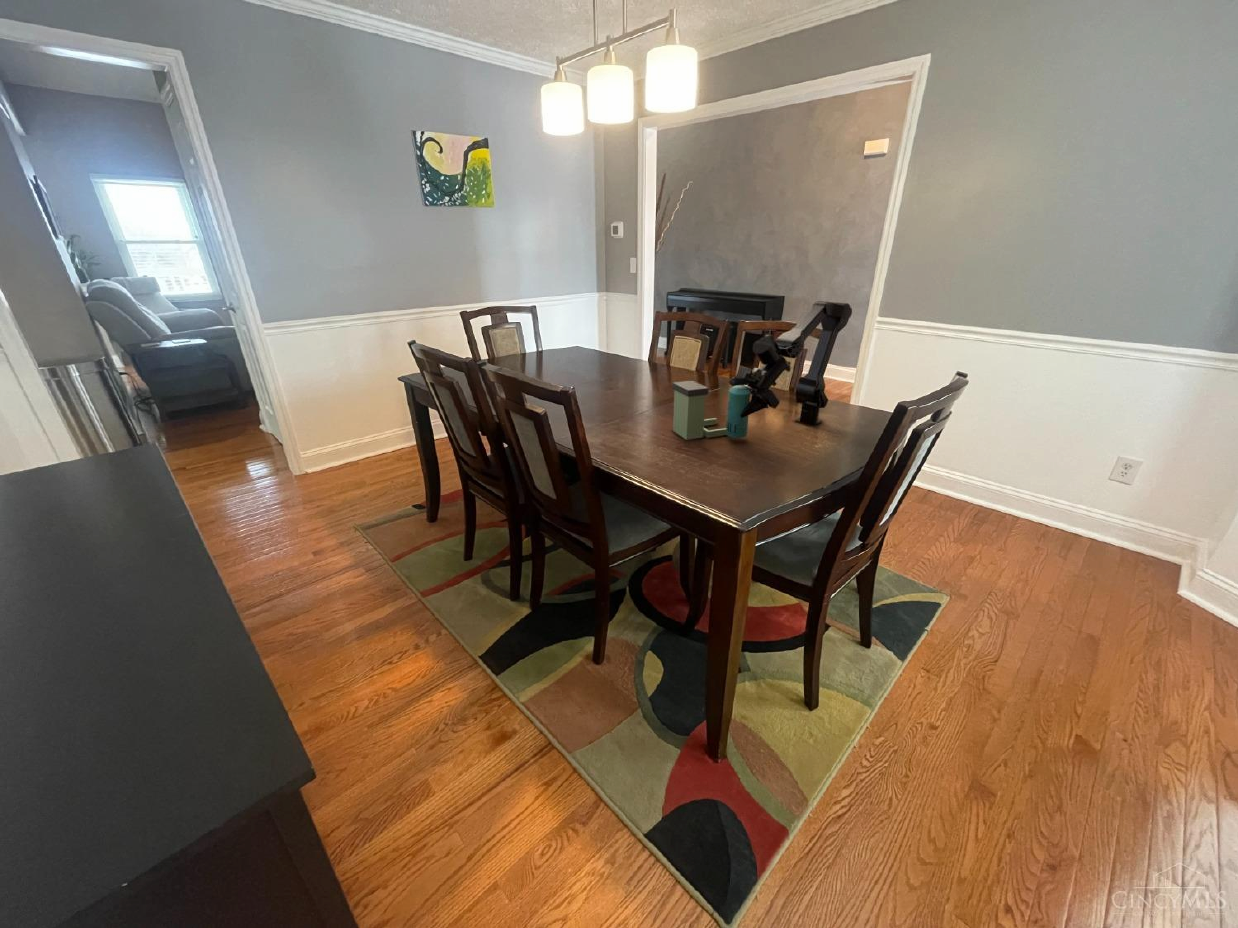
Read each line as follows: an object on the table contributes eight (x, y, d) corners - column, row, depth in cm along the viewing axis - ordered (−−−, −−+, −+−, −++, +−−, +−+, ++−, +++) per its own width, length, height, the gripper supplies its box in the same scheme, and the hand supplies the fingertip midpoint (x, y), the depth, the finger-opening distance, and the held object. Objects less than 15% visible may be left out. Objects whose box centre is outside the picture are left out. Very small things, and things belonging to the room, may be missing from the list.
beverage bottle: (747, 435, 153) (753, 373, 144) (746, 444, 148) (751, 380, 139) (726, 433, 155) (730, 372, 146) (724, 442, 149) (728, 378, 140)
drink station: (714, 423, 166) (718, 377, 160) (733, 433, 157) (737, 384, 151) (670, 430, 161) (671, 382, 154) (686, 441, 151) (689, 390, 145)
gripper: (736, 350, 150) (703, 389, 151) (775, 362, 134) (738, 406, 135) (755, 373, 156) (723, 410, 157) (795, 387, 140) (759, 429, 141)
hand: (734, 413), depth 147 cm, fingers closed on beverage bottle, 6 cm apart
